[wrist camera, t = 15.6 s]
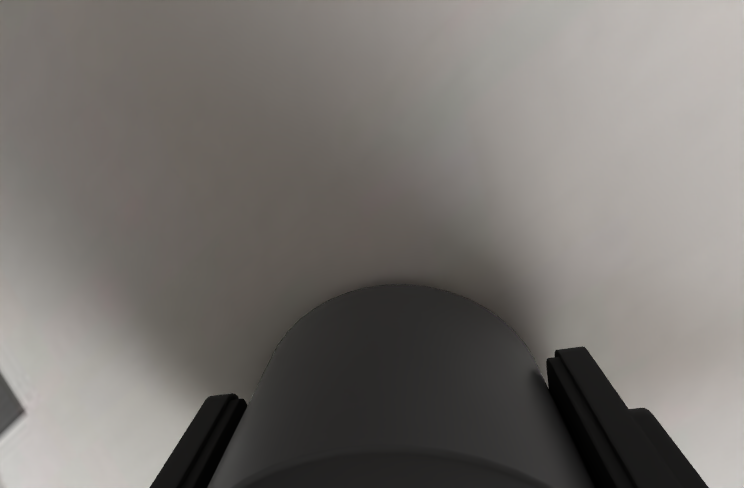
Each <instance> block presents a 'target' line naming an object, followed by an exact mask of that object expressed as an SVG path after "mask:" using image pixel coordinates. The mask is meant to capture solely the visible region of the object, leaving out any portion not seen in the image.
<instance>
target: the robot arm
mask: <svg viewBox="0 0 744 488" xmlns="http://www.w3.org/2000/svg"><path fill="white" fill-rule="evenodd" d="M546 364H547V375H548V386H549V391H550V393H551V395H552V397H553V399H554V401H555V403H556V405H557V408H558V410H559V412H560V414H561V416H562V418H563V420H564V422H565V424H566V426H567V428H568V430H569V433H570V435H571V437H572V439H573V441H574V443H575V445H576V447H577V449H578V451H579V453H580V455H581V458H582V460H583V462H584V464H585V466H586V468H587V470H588V472H589V474H590V476H591V478H592V480H593V483H594V485H595V487H596V488H709V487H708V486H707V485H706V484H705V482H704V481H703V480H702V478H701V477H700V476H699V474H698V473H697V472H696V470H695V469H694V468H693V466H692V465H691V464H690V463H689V461H688V460H687V459H686V457H685V456H684V455H683V453H682V452H681V451H680V449H679V448H678V447H677V445H676V444H675V443H674V441H673V440H672V439H671V438H670V436H669V435H668V434H667V432H666V431H665V430H664V428H663V427H662V426H661V424H660V423H659V422H658V420H657V419H656V418H655V417H654V415H653V414H652V413H651V412H650V411H649V410H647V409H645V408H637V409H628V408H627V406H626V405H625V403H624V402H623V401H622V399H621V398H620V396H619V395H618V393H617V392H616V390H615V389H614V388H613V386H612V385H611V383H610V382H609V380H608V379H607V378H606V376H605V375H604V373H603V372H602V370H601V369H600V368H599V366H598V365H597V363H596V362H595V360H594V359H593V358H592V356H591V355H590V353H589V352H588V350H587V349H586V348H585V347H575V348H568V349H560V350H556V351H555V358H547V361H546ZM246 408H247V404H246V402H245V400H244V399H239V398H238V396H237V395H236V394H233V393H231V394H224V395H216V396H210V397H208V398H207V399H206V400H205V402H204V403H203V405H202V406H201V408H200V410H199V411H198V413H197V414H196V416H195V417H194V419H193V421H192V422H191V424H190V425H189V427H188V428H187V430H186V432H185V433H184V435H183V436H182V438H181V439H180V441H179V443H178V444H177V446H176V447H175V449H174V450H173V452H172V454H171V455H170V457H169V458H168V460H167V461H166V463H165V464H164V466H163V468H162V469H161V471H160V472H159V474H158V475H157V477H156V479H155V480H154V482H153V483H152V485H151V486H150V488H207V487H208V485H209V483H210V481H211V479H212V477H213V475H214V473H215V471H216V469H217V467H218V465H219V463H220V461H221V459H222V457H223V454H224V452H225V450H226V448H227V446H228V444H229V442H230V440H231V438H232V436H233V434H234V432H235V430H236V428H237V426H238V424H239V422H240V420H241V418H242V416H243V414H244V412H245V410H246Z"/></svg>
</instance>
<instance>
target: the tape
mask: <svg viewBox="0 0 744 488" xmlns="http://www.w3.org/2000/svg"><path fill="white" fill-rule="evenodd" d="M207 488H596V487H595V485H594V483H593V480H592V478H591V476H590V474H589V472H588V470H587V468H586V466H585V464H584V462H583V460H582V458H581V455H580V453H579V451H578V449H577V447H576V445H575V443H574V441H573V439H572V437H571V435H570V433H569V430H568V428H567V426H566V424H565V422H564V420H563V418H562V416H561V414H560V412H559V410H558V408H557V405H556V403H555V401H554V399H553V397H552V395H551V393H550V391H549V389H548V387H547V385H546V383H545V380H544V378H543V376H542V374H541V372H540V370H539V368H538V366H537V364H536V362H535V360H534V358H533V356H532V355H531V353H530V351H529V350H528V348H527V346H526V345H525V343H524V342H523V341H522V340H521V339H520V337H519V336H518V335H517V334H516V333H515V331H514V330H513V329H511V328H510V327H509V326H508V325H507V324H506V323H505V322H504V321H503V320H502V319H500V318H499V317H498V316H496V315H495V314H493V313H492V312H490V311H489V310H487V309H486V308H485V307H483V306H481V305H479V304H477V303H475V302H473V301H471V300H469V299H467V298H465V297H462V296H459V295H456V294H454V293H451V292H448V291H444V290H440V289H435V288H431V287H426V286H416V285H382V286H375V287H368V288H364V289H360V290H356V291H352V292H349V293H346V294H343V295H341V296H338V297H336V298H333V299H331V300H329V301H327V302H325V303H324V304H322V305H320V306H318V307H317V308H315V309H313V310H312V311H311V312H309V313H308V314H307V315H305V316H304V317H303V318H301V319H300V320H299V321H298V322H297V323H296V324H295V325H294V326H293V327H292V328H291V329H290V330H289V331H288V332H287V333H286V335H285V336H284V338H283V339H282V340H281V342H280V343H279V344H278V346H277V348H276V350H275V352H274V354H273V356H272V358H271V359H270V361H269V363H268V365H267V368H266V370H265V372H264V374H263V376H262V378H261V380H260V382H259V384H258V386H257V388H256V390H255V392H254V394H253V396H252V398H251V400H250V402H249V404H248V406H247V408H246V410H245V412H244V414H243V416H242V418H241V420H240V422H239V424H238V426H237V428H236V430H235V432H234V434H233V436H232V438H231V440H230V442H229V444H228V446H227V448H226V450H225V452H224V454H223V457H222V459H221V461H220V463H219V465H218V467H217V469H216V471H215V473H214V475H213V477H212V479H211V481H210V483H209V485H208V487H207Z"/></svg>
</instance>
